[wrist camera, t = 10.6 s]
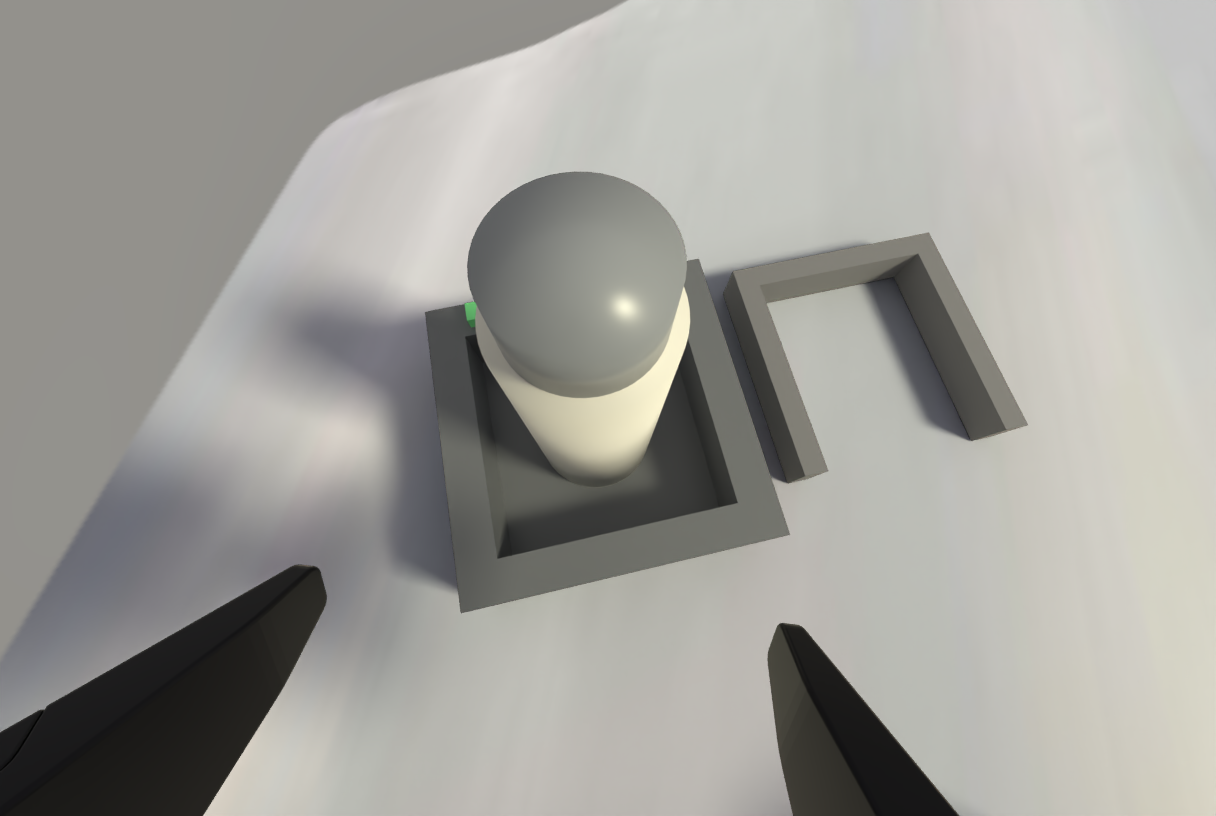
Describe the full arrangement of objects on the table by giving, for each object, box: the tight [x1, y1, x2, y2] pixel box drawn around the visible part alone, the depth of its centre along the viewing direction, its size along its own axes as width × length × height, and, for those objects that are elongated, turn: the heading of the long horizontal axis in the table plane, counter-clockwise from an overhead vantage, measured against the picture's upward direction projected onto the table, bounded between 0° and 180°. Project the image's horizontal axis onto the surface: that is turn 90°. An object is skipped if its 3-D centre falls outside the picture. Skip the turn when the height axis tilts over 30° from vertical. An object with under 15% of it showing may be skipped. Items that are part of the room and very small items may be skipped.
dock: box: [425, 259, 790, 613], centre depth 20 cm, size 12×12×4 cm
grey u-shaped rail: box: [723, 233, 1028, 483], centre depth 22 cm, size 10×10×2 cm
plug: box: [467, 172, 690, 487], centre depth 15 cm, size 5×5×13 cm
